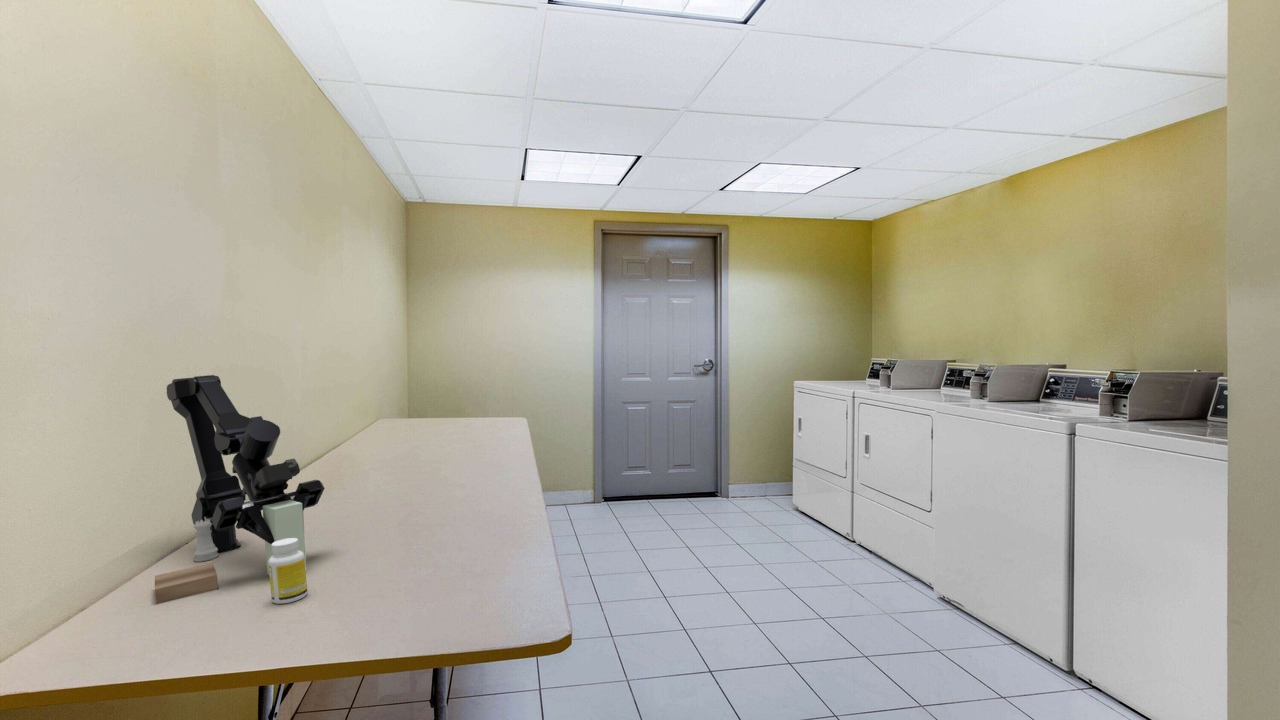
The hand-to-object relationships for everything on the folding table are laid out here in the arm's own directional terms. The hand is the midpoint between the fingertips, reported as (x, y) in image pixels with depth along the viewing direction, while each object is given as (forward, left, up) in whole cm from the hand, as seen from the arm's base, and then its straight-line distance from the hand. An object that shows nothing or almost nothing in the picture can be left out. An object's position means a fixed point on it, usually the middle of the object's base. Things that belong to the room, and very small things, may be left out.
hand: (288, 538), depth 121 cm
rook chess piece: (-26, -12, -7) cm, 29 cm away
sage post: (-1, -1, -7) cm, 7 cm away
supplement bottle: (+13, -2, -7) cm, 15 cm away
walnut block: (-7, -16, -7) cm, 19 cm away
